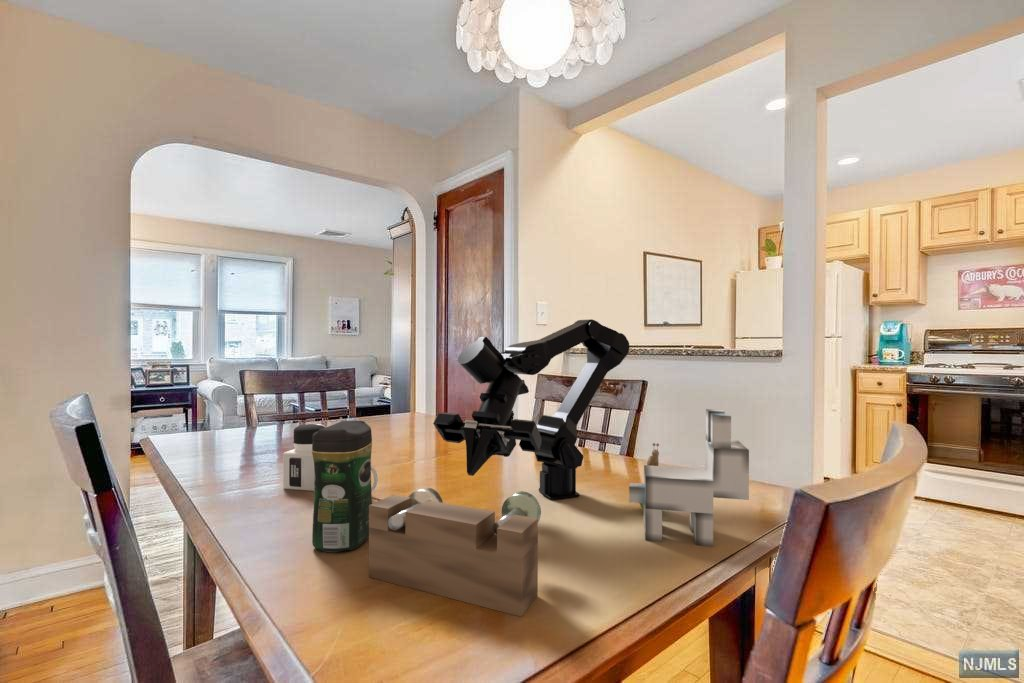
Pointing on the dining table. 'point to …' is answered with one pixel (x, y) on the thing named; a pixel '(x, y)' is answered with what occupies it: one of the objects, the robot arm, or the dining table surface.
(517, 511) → the knob sage
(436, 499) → the silver rounded piece
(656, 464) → the snail figurine
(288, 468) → the container
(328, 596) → the dining table surface
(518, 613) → the block
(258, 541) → the dining table surface
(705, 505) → the toy llama
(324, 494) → the coffee jar
